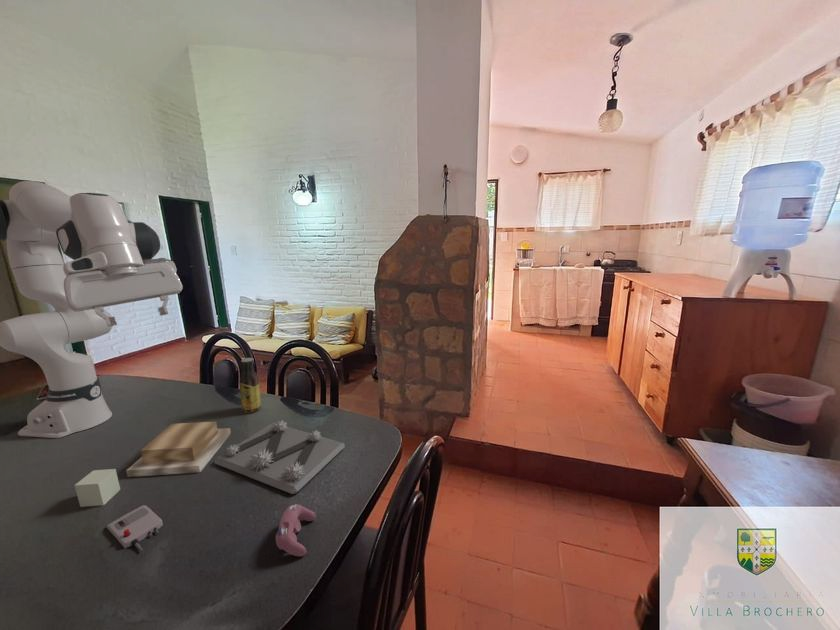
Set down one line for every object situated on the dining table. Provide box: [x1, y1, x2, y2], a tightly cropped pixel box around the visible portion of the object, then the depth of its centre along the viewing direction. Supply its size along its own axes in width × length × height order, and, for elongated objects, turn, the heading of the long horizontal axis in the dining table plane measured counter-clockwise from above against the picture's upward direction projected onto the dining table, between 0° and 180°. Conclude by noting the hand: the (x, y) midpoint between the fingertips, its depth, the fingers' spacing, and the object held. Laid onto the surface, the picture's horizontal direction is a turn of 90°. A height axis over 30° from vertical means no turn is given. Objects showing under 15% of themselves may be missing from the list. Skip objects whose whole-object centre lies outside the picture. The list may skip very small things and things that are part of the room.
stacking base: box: [125, 421, 231, 478], centre depth 94 cm, size 18×18×6 cm
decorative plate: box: [214, 419, 346, 495], centre depth 94 cm, size 30×22×7 cm
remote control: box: [106, 504, 164, 552], centre depth 70 cm, size 7×16×3 cm, turn 60°
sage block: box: [74, 468, 121, 508], centre depth 78 cm, size 5×5×6 cm
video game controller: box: [275, 503, 317, 558], centre depth 68 cm, size 10×5×7 cm, turn 5°
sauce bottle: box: [238, 357, 262, 414], centre depth 117 cm, size 6×6×20 cm
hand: (139, 319), depth 75 cm, fingers open, 8 cm apart
